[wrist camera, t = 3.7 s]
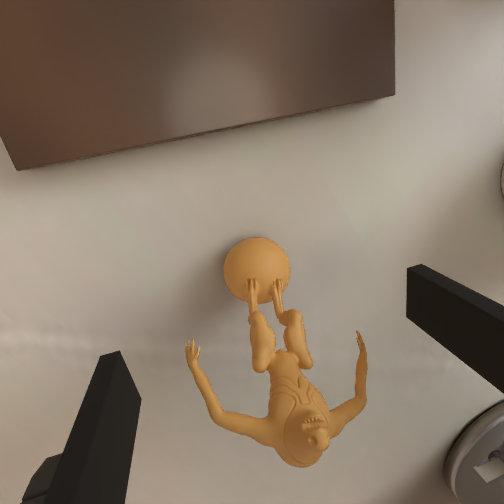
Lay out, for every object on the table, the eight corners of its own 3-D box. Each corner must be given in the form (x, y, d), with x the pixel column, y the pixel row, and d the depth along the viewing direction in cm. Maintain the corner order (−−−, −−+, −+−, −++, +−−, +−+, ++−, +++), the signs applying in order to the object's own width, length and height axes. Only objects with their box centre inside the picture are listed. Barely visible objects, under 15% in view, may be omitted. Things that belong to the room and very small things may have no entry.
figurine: (313, 231, 20) (470, 338, 9) (300, 310, 22) (417, 479, 11) (186, 227, 18) (187, 356, 7) (185, 314, 20) (183, 521, 9)
